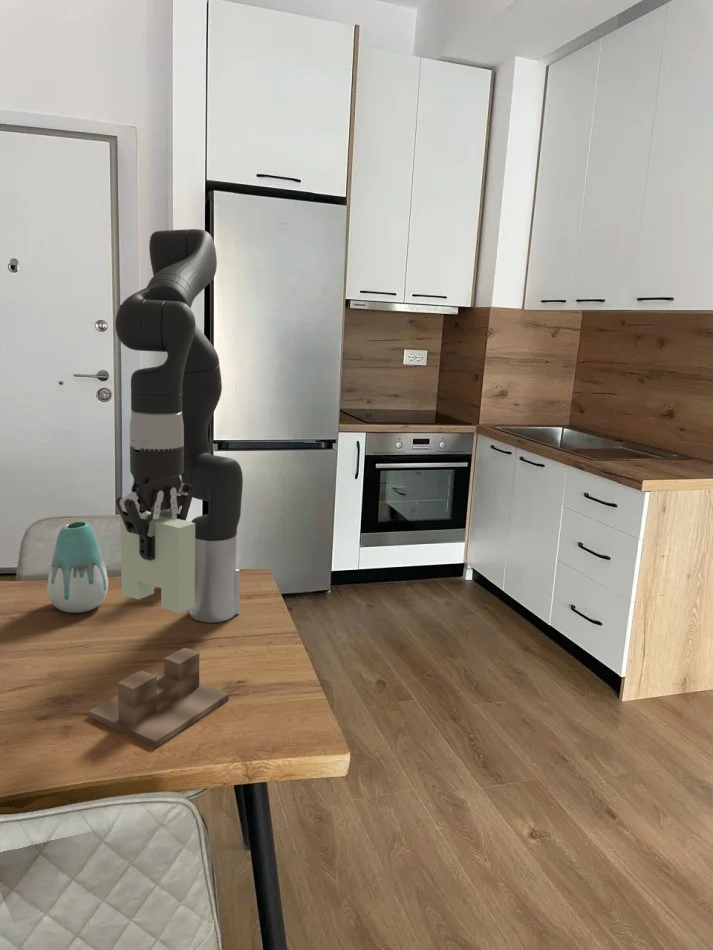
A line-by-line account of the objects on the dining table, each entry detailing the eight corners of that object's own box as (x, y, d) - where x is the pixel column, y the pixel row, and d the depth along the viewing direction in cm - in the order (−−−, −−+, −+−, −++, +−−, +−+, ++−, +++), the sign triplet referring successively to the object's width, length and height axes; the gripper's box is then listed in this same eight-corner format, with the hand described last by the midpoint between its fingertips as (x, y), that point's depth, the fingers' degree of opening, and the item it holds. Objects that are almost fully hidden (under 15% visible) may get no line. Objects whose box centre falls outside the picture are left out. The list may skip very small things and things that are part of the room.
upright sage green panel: (137, 587, 113) (136, 508, 110) (194, 606, 107) (195, 523, 104) (121, 593, 110) (120, 512, 107) (179, 613, 104) (179, 528, 101)
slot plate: (165, 674, 122) (164, 636, 121) (228, 699, 116) (229, 659, 114) (88, 716, 109) (87, 674, 107) (155, 747, 102) (155, 703, 101)
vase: (43, 619, 141) (39, 532, 137) (53, 597, 152) (50, 515, 148) (105, 617, 143) (103, 531, 139) (111, 594, 154) (109, 515, 150)
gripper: (173, 433, 111) (173, 539, 115) (99, 444, 99) (102, 562, 103) (210, 440, 107) (208, 549, 111) (138, 452, 95) (139, 574, 99)
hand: (157, 555), depth 107 cm, fingers closed on upright sage green panel, 3 cm apart
